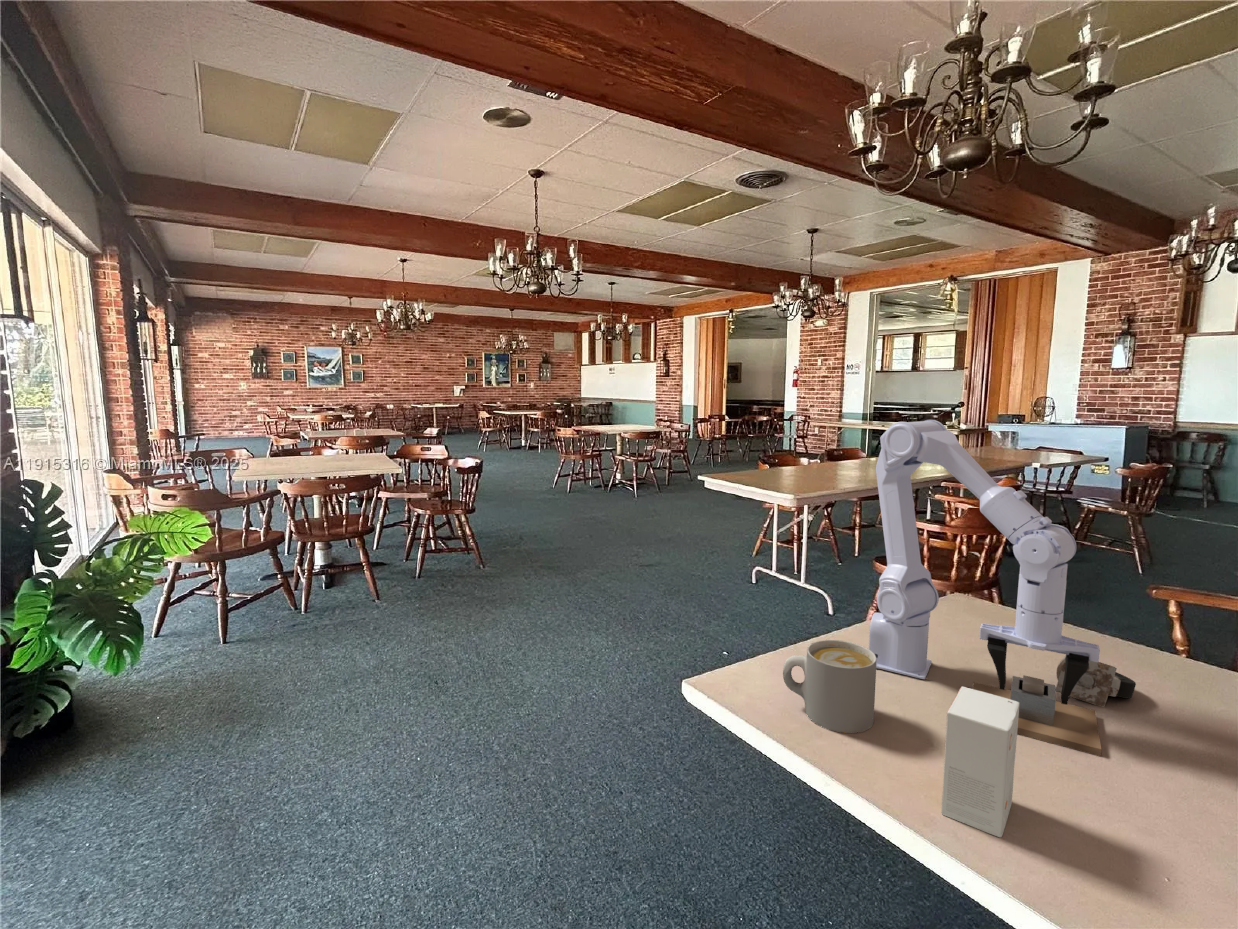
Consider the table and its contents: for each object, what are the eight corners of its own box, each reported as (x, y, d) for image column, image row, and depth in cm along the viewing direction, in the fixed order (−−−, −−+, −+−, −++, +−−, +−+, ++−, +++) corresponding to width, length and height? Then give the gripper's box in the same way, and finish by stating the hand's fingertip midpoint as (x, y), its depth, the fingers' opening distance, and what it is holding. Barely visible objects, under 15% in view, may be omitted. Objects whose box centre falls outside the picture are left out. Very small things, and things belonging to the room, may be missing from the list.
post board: (965, 720, 91) (968, 682, 91) (973, 687, 101) (975, 653, 100) (1100, 756, 82) (1104, 715, 81) (1094, 716, 92) (1098, 679, 91)
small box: (954, 780, 78) (961, 684, 76) (1012, 802, 74) (1021, 701, 72) (939, 815, 71) (945, 711, 70) (1001, 840, 67) (1010, 731, 66)
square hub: (1009, 715, 91) (1011, 690, 90) (1010, 699, 95) (1012, 675, 95) (1053, 726, 88) (1055, 700, 87) (1052, 710, 92) (1055, 685, 92)
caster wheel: (1116, 699, 102) (1141, 721, 93) (1039, 674, 106) (1055, 692, 97) (1128, 661, 101) (1154, 680, 92) (1050, 637, 106) (1068, 652, 96)
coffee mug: (881, 711, 94) (884, 650, 93) (862, 741, 86) (865, 674, 85) (797, 686, 102) (799, 629, 101) (773, 711, 94) (775, 650, 93)
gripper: (980, 605, 90) (974, 691, 92) (1104, 627, 82) (1095, 720, 84) (984, 592, 96) (978, 673, 98) (1100, 611, 88) (1091, 699, 90)
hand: (1032, 694), depth 91 cm, fingers open, 7 cm apart
